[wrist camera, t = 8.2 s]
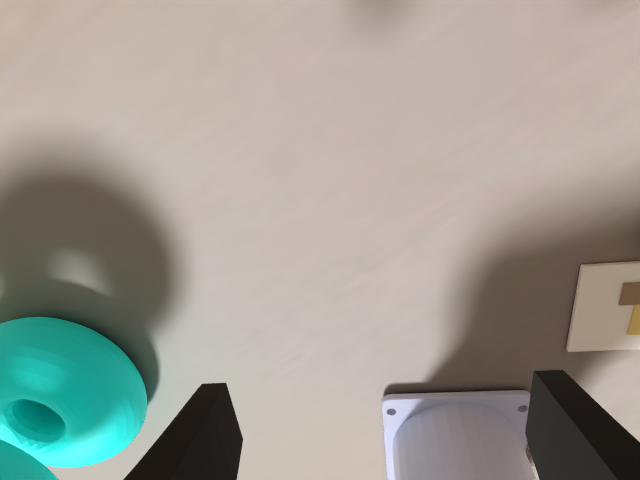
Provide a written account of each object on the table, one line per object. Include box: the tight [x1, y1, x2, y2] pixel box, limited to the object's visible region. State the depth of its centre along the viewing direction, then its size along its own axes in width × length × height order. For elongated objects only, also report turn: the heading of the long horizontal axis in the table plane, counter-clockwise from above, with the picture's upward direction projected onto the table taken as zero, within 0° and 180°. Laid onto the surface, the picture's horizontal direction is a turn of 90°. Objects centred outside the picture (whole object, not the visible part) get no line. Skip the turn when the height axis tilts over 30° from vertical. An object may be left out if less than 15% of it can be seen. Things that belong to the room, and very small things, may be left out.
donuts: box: [0, 317, 147, 480], centre depth 21 cm, size 10×10×10 cm
